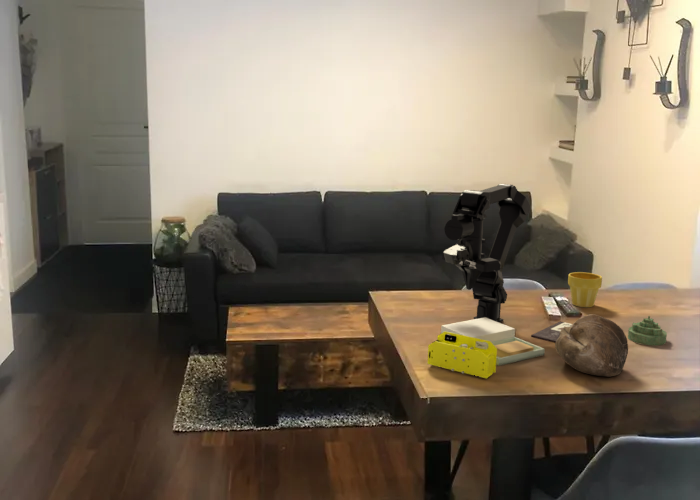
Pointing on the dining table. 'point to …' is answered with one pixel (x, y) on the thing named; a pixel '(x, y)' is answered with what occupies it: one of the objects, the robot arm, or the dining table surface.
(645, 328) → the decorative artifact
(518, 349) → the tan curved block
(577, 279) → the plant pot
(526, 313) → the dining table surface
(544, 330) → the chocolate bar
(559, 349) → the seashell
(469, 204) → the robot arm
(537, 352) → the tray
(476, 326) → the block
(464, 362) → the yellow toy chassis
